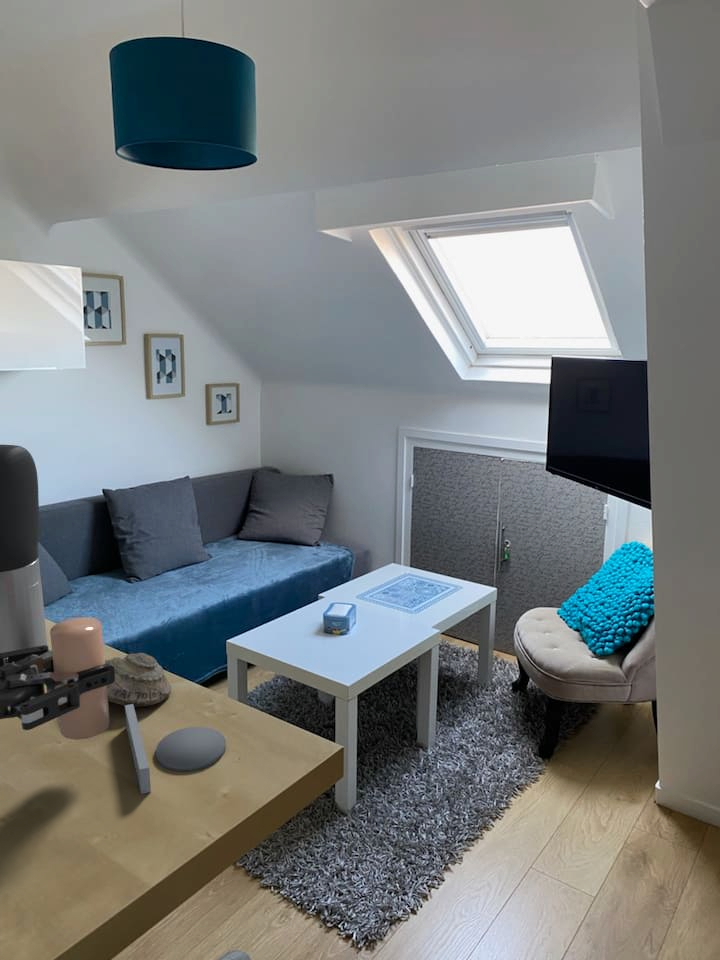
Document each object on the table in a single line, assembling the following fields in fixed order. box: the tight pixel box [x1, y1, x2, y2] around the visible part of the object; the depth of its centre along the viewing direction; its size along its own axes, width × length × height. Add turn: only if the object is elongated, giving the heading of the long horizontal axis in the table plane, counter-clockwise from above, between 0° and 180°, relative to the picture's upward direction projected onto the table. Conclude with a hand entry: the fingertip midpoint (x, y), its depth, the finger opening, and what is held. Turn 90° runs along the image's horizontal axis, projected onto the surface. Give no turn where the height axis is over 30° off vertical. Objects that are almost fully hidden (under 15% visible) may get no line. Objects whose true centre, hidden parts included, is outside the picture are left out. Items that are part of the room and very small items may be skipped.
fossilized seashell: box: [104, 652, 172, 708], centre depth 98 cm, size 11×11×7 cm
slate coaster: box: [155, 726, 227, 772], centre depth 87 cm, size 8×8×1 cm
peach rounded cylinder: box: [49, 616, 111, 741], centre depth 81 cm, size 5×5×12 cm
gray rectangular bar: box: [124, 704, 152, 795], centre depth 85 cm, size 14×1×3 cm, turn 24°
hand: (103, 662), depth 82 cm, fingers closed on peach rounded cylinder, 5 cm apart
